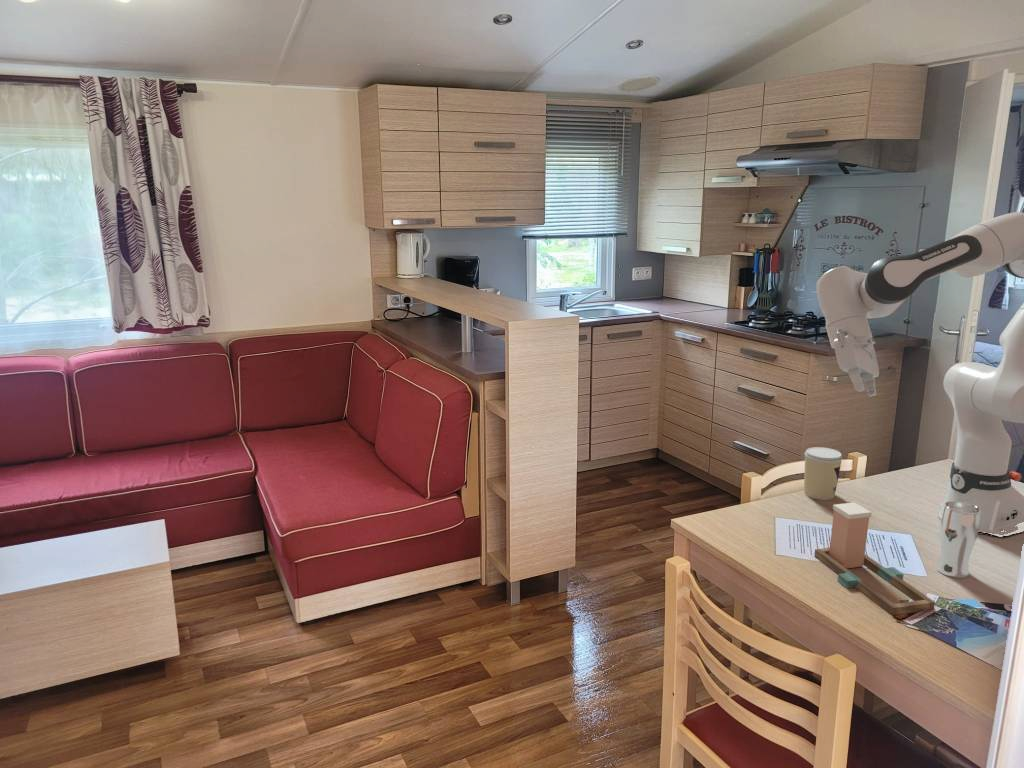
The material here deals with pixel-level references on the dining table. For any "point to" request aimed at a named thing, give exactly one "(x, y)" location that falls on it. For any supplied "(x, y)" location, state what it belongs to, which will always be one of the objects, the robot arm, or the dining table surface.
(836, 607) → the dining table surface
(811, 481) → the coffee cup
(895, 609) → the open rectangular frame
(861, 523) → the block
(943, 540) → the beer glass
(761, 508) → the dining table surface
